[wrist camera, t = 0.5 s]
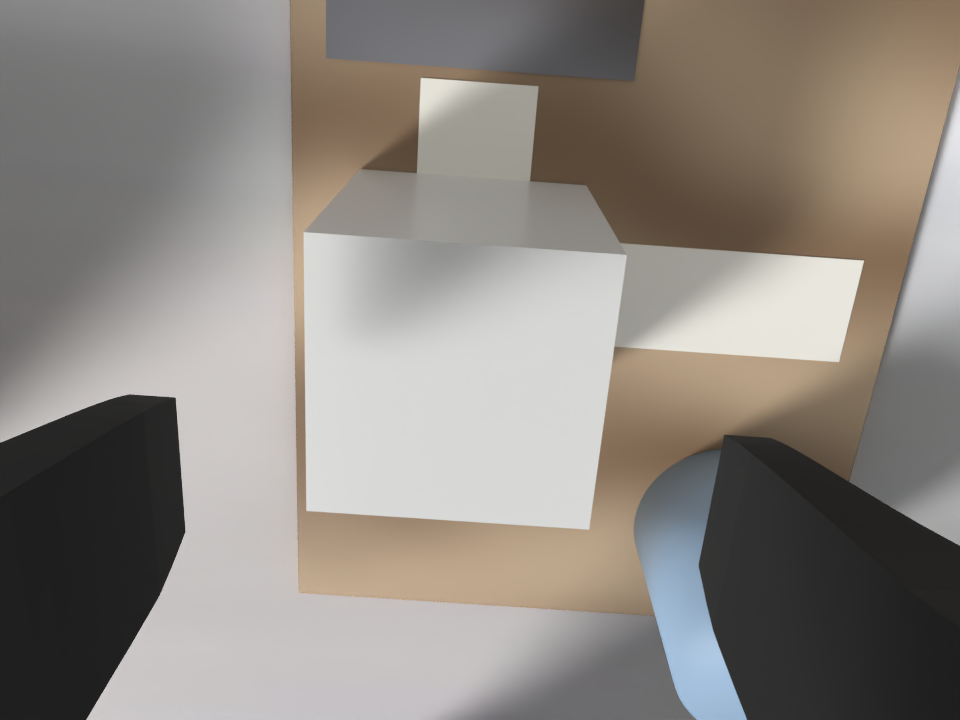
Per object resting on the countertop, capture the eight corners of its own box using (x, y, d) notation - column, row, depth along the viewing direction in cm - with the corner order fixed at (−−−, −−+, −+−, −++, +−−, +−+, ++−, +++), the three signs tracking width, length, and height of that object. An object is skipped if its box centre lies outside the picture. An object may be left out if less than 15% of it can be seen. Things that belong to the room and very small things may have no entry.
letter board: (806, 618, 23) (810, 627, 23) (300, 585, 23) (298, 593, 23) (1088, -448, 15) (1101, -459, 14) (286, -514, 14) (281, -527, 14)
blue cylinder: (788, 601, 23) (864, 750, 18) (623, 590, 23) (656, 737, 18) (825, 454, 21) (920, 576, 16) (646, 442, 21) (691, 562, 16)
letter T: (809, 479, 21) (810, 480, 21) (405, 452, 21) (405, 453, 21) (899, 112, 18) (900, 112, 18) (420, 77, 18) (420, 77, 18)
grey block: (562, 391, 20) (589, 529, 15) (357, 377, 20) (306, 511, 15) (586, 185, 19) (626, 255, 13) (360, 169, 18) (303, 231, 13)
